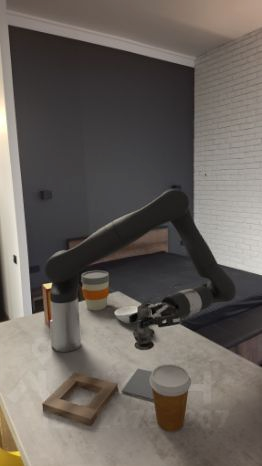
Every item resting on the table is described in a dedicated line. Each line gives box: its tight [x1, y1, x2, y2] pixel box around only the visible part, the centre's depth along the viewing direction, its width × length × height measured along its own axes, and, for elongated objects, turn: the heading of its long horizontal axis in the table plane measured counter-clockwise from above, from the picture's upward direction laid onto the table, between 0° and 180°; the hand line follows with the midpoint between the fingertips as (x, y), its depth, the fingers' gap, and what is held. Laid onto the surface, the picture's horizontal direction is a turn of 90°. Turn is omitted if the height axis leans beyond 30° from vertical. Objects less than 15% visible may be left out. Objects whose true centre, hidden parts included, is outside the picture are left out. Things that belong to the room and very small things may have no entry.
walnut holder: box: [42, 371, 119, 427], centre depth 84 cm, size 14×14×2 cm
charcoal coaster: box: [121, 368, 154, 402], centre depth 89 cm, size 11×11×1 cm
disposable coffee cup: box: [149, 364, 192, 433], centre depth 75 cm, size 10×10×12 cm
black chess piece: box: [132, 302, 156, 351], centre depth 85 cm, size 6×6×12 cm
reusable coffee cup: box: [80, 270, 110, 311], centre depth 144 cm, size 13×13×15 cm
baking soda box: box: [41, 282, 52, 328], centre depth 130 cm, size 10×6×16 cm
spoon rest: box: [114, 306, 153, 330], centre depth 125 cm, size 24×12×7 cm, turn 24°
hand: (134, 321), depth 84 cm, fingers closed on black chess piece, 3 cm apart
